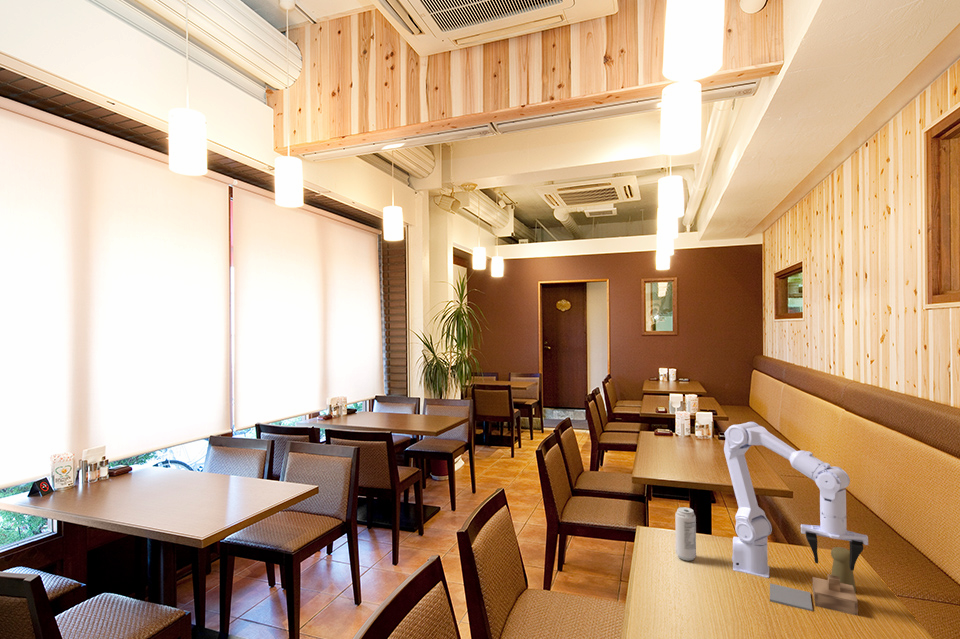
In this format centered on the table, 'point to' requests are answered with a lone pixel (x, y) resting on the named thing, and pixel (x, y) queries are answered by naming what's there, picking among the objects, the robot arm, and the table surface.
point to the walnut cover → (835, 595)
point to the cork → (842, 566)
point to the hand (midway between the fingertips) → (833, 565)
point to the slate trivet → (790, 597)
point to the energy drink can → (685, 533)
